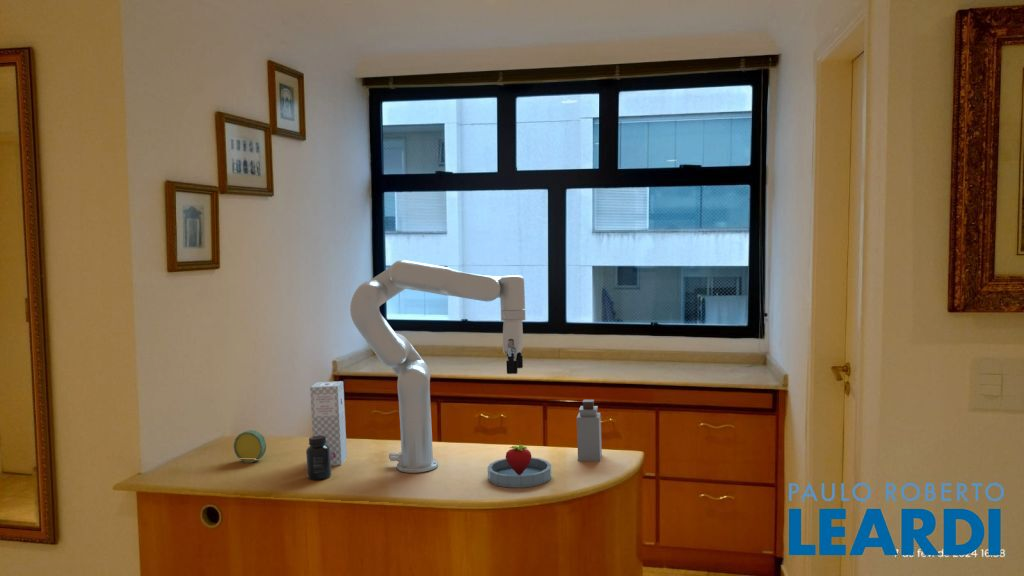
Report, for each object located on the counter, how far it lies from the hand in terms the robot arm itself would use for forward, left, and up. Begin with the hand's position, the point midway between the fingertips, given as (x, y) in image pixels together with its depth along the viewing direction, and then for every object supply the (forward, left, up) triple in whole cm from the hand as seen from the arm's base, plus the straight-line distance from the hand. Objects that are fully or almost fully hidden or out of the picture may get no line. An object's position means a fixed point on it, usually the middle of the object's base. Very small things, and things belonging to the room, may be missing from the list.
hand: (515, 370), depth 219 cm
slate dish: (+3, -16, -28) cm, 32 cm away
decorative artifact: (-87, -3, -28) cm, 92 cm away
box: (-60, -4, -28) cm, 67 cm away
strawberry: (+3, -16, -28) cm, 32 cm away
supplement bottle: (-57, -19, -28) cm, 66 cm away
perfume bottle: (+22, +4, -28) cm, 36 cm away
